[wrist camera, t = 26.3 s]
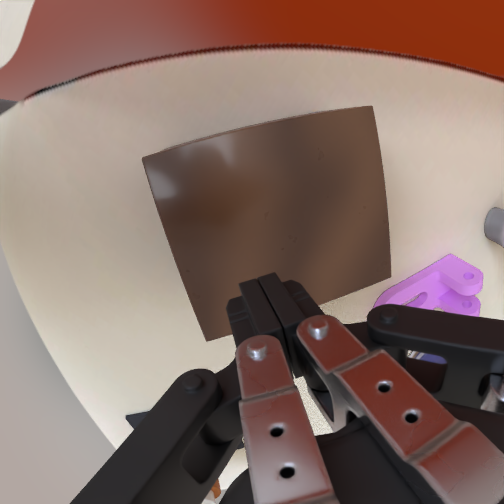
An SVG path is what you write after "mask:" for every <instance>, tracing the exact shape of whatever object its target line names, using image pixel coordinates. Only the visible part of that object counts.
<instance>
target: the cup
mask: <svg viewBox="0 0 504 504" xmlns="http://www.w3.org/2000/svg"><path fill="white" fill-rule="evenodd" d="M484 230H485V235H486V237H487V238H489V239H490V240H492V241H494V242H496V243H498V244H499V245H501V246H503V248H504V210H503V209H500V208H497V207H494V208H492V209H491V210H490V211H489V213H488V215H487V217H486V221H485V227H484Z"/></svg>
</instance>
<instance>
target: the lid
mask: <svg viewBox="0 0 504 504" xmlns="http://www.w3.org/2000/svg"><path fill="white" fill-rule="evenodd" d="M142 162H143V165H144V168H145V172H146V175H147V178H148V182H149V185H150V188H151V191H152V194H153V198H154V201H155V204H156V207H157V210H158V213H159V216H160V219H161V222H162V225H163V228H164V231H165V234H166V237H167V240H168V242H169V245H170V248H171V251H172V254H173V257H174V259H175V262H176V265H177V268H178V270H179V273H180V276H181V278H182V281H183V284H184V286H185V289H186V292H187V294H188V297H189V299H190V302H191V305H192V307H193V310H194V312H195V315H196V317H197V320H198V322H199V325H200V327H201V330H202V332H203V335H204V337H205V339H206V341H211V340H214V339H218V338H221V337H224V336H228V335H231V334H233V333H232V330H231V326H230V322H229V319H228V315H227V311H226V306H227V303H228V301H229V299H232V298H235V297H239V296H241V292H240V289H239V285H238V283H242V282H245V281H248V280H251V279H254V278H256V279H257V277H260V276H264V275H267V274H270V273H273V272H275V273H276V274H277V276H278V277H279V279H280V280H281V282H285V281H288V280H294V281H296V282H298V283H301V284H302V286H303V287H304V288H305V290H306V292H308V293H309V295H310V297H312V298H313V300H314V301H315V302H316V304H317V305H321V304H323V303H326V302H329V301H331V300H334V299H337V298H339V297H342V296H345V295H347V294H350V293H353V292H355V291H358V290H360V289H363V288H365V287H368V286H371V285H373V284H376V283H378V282H381V281H383V280H385V279H388V278H390V277H391V255H390V236H389V222H388V210H387V199H386V190H385V181H384V173H383V165H382V158H381V151H380V145H379V139H378V133H377V127H376V121H375V116H374V111H373V106H363V107H355V108H348V109H341V110H334V111H328V112H321V113H315V114H310V115H304V116H299V117H293V118H288V119H283V120H278V121H273V122H269V123H264V124H260V125H255V126H251V127H247V128H242V129H238V130H234V131H230V132H226V133H222V134H219V135H215V136H211V137H207V138H204V139H200V140H197V141H193V142H190V143H186V144H183V145H180V146H176V147H173V148H170V149H167V150H164V151H161V152H157V153H154V154H151V155H148V156H145V157H143V158H142Z"/></svg>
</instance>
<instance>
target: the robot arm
mask: <svg viewBox="0 0 504 504" xmlns="http://www.w3.org/2000/svg"><path fill="white" fill-rule="evenodd" d="M238 285H239V289H240V292H241V296H239V297H235V298H232V299H229V301H228V303H227V306H226V311H227V315H228V319H229V322H230V326H231V330H232V333H233V337H234V341H235V344H236V348H237V349H236V352H235V358H234V360H233V361H232V362H231V363H230V365H228V366H227V367H226V368H224V369H223V370H221V371H219V372H217V373H215V374H214V373H213V372H212V371H210V370H208V369H194V370H190V371H188V372H185V373H184V374H182V375H181V376H179V377H178V378H177V379H176V380H175V382H174V383H173V384H172V385H171V386H170V388H169V389H168V390H167V391H166V392H165V394H164V395H163V396H162V397H161V398H160V400H159V401H158V402H157V403H156V404H155V406H154V407H153V408H152V409H151V410H150V411H149V413H148V414H147V415H146V416H145V417H144V419H143V420H142V421H141V422H140V423H139V424H138V426H137V427H136V428H135V429H134V430H133V432H132V433H131V434H130V435H129V436H128V437H127V439H126V440H125V441H124V442H123V443H122V444H121V446H120V447H119V448H118V449H117V450H116V451H115V453H114V454H113V455H112V456H111V457H110V458H109V459H108V461H107V462H106V463H105V464H104V465H103V466H102V468H101V469H100V470H99V471H98V472H97V473H96V475H95V476H94V477H93V478H92V479H91V480H90V481H89V482H88V484H87V485H86V486H85V487H84V488H83V489H82V490H81V491H80V493H79V494H78V495H77V496H76V497H75V498H74V499H73V500H72V502H71V503H70V504H202V502H203V501H204V499H205V498H206V496H207V495H208V493H209V492H210V490H211V489H212V487H213V485H214V484H215V482H216V481H217V479H218V478H219V476H220V475H221V473H222V471H223V470H224V468H225V467H226V465H227V463H228V462H229V460H230V459H231V457H232V455H233V454H234V452H235V450H236V449H237V447H238V445H239V444H240V442H241V440H242V437H244V443H245V449H246V456H247V462H248V468H247V469H246V470H245V471H244V472H242V473H241V474H240V475H239V476H238V477H237V478H236V479H235V480H234V481H233V482H232V484H231V485H230V486H229V488H228V489H227V491H226V493H225V494H224V496H223V498H222V499H221V501H220V503H219V504H504V320H498V319H490V318H483V317H476V316H469V315H462V314H456V313H449V312H442V311H436V310H429V309H423V308H417V307H410V306H404V305H398V304H383V305H380V306H377V307H375V308H373V309H372V310H371V311H370V312H369V313H368V316H367V321H366V322H360V323H354V324H342V323H341V322H340V321H339V320H338V319H337V318H335V317H333V316H330V315H325V314H324V313H323V311H322V310H321V309H320V307H319V306H318V305H317V304H316V302H315V301H314V300H313V298H312V297H310V295H309V293H308V292H306V290H305V288H304V287H303V286H302V284H301V283H298V282H296V281H294V280H288V281H285V282H281V280H280V279H279V277H278V276H277V274H276V273H275V272H273V273H270V274H267V275H264V276H260V277H257V279H256V278H254V279H251V280H248V281H245V282H242V283H238ZM408 350H411V351H416V352H421V353H426V354H431V355H436V356H440V357H442V358H444V359H445V360H446V362H447V363H444V364H441V363H435V362H430V361H425V360H420V359H415V358H410V357H407V355H408ZM292 372H293V373H292ZM293 374H294V376H295V378H299V377H301V376H303V377H304V378H305V380H306V383H307V389H308V392H309V394H310V396H311V397H312V399H313V401H314V402H315V404H316V405H317V407H318V408H319V410H320V412H321V413H322V415H323V416H324V418H325V419H326V421H327V422H328V424H329V425H330V427H331V429H332V430H333V433H329V434H323V435H318V436H314V433H313V430H312V427H311V424H310V422H309V419H308V416H307V413H306V410H305V407H304V405H303V402H302V399H301V396H300V393H299V390H298V388H297V386H296V385H295V384H294V381H293V379H294V377H293Z"/></svg>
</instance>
